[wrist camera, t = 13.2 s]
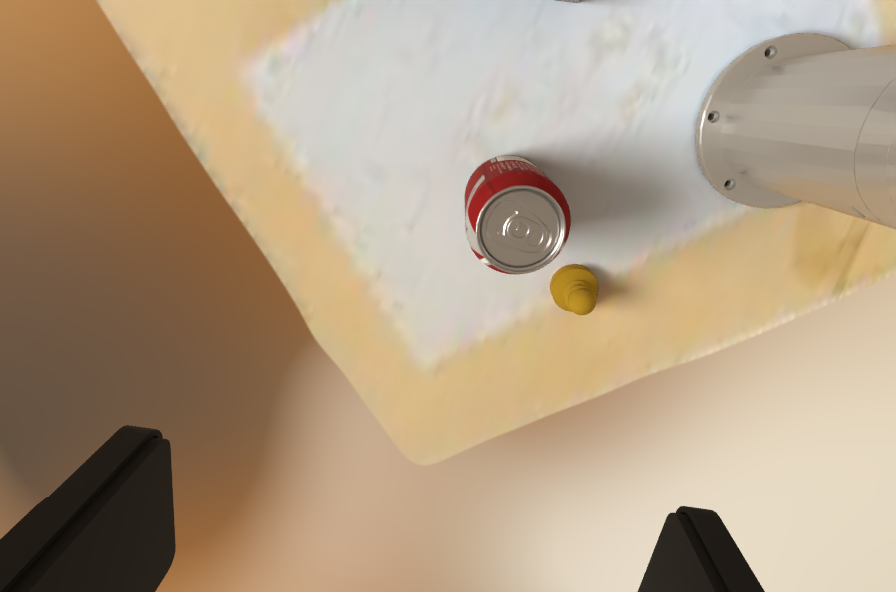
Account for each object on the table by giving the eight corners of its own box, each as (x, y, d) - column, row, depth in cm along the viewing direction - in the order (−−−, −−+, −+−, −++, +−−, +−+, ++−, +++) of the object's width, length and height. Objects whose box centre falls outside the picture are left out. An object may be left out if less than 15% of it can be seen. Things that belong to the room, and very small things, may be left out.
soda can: (491, 138, 41) (501, 153, 30) (562, 180, 42) (598, 210, 31) (450, 212, 44) (445, 251, 32) (518, 250, 45) (537, 301, 33)
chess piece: (597, 264, 45) (612, 283, 40) (592, 306, 46) (607, 329, 42) (551, 263, 45) (561, 282, 40) (548, 305, 46) (557, 329, 42)
